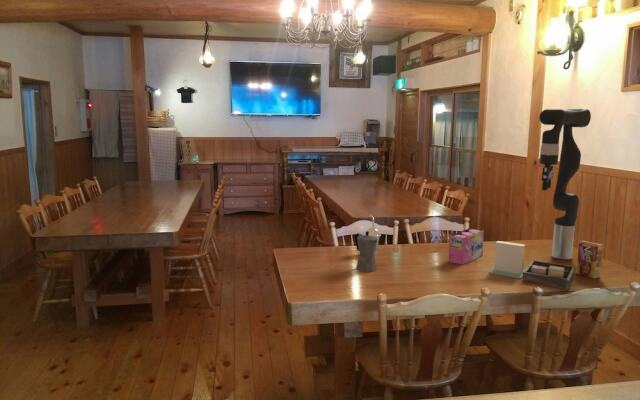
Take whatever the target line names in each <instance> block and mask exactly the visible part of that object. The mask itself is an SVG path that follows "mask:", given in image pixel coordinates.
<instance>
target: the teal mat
mask: <svg viewBox="0 0 640 400" xmlns="http://www.w3.org/2000/svg"><path fill="white" fill-rule="evenodd" d="M525 269H526V268H525ZM525 269H524V268H523V272H524V270H525ZM488 274H489V275H490V274H491V275H497V276H501V277H505V278H506V277H507V278H513V279H519V280H523V273H522V274H517V273H511V272H505V271H499V270H494V267H492V268H491V269H490V270H489V271H488Z"/></svg>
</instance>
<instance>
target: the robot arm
mask: <svg viewBox="0 0 640 400" xmlns="http://www.w3.org/2000/svg"><path fill="white" fill-rule="evenodd" d="M591 119H592V113H591V111H590V110H589V109H588V108H583V107H582V108H581V107H579V108H578V107H577V108H576V107H575V108H573V107H569V108H567V109H562V108H546V109H543V110H542V111H541V112H540V113H539V119H538V120H539V121H540V123H541V124H542V125H544V126H553V127H552V128H551V129H548V130H547V129H546V130H544V131H543V132H542V136H541V145H540V153H539V164H540V165H544V166H543V167H542V174H541V181H542V187H541V188H542V191H548V189H550V188H551V187H552V180H553V178H554V177H553V175H554V166H555V165H556V166H557V165H558V173H557V180H556V185H555V189H554V193H553V197H552V198H553V199H552V207H553V208H554V209H555V210H556V211H563V212H565V213H564V215H563V216H558V217H555V219H554V224H553V225H554V226H553V228H554V229H553V238H552V239H553V240H552V249H551V257H552V258H554V259H558V260H571V259H572V256H573V247H574V238H575V237H574V236H575V228H576V221H577V218H578V212H579V204H580V200H579V196H578V195H577V194H575V193H569V192H567V187H568V184H569V182H570V181H571V179H572V178H573V177H574V176H575V175H576V174H577V172H578V171H579V168H580V165H581V157H582V153H581V150H580V148H579V146H578V145H577V143H576V141H575V139H574V135H573V128H585V127H588V125H589V124H590V123H591ZM562 129H563V130H562ZM561 132H562V141H561V150H560V146H559V145H560V144H559V143H560V136H561ZM559 154H560V155H559ZM558 163H559V164H558Z"/></svg>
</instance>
